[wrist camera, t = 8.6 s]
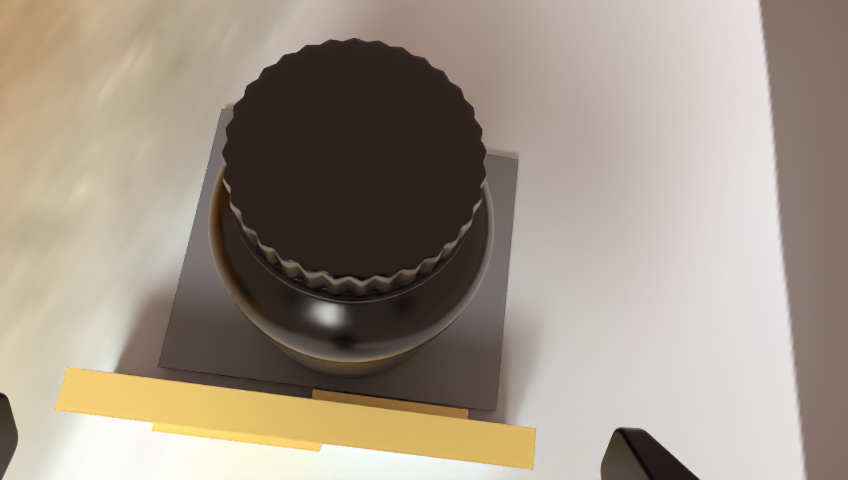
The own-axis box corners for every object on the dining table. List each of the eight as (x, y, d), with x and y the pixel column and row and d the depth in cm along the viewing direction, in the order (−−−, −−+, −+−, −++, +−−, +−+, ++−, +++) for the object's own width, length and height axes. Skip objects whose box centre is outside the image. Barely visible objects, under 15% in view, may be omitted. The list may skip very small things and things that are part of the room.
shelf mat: (494, 411, 22) (496, 411, 21) (160, 367, 20) (157, 366, 20) (516, 162, 24) (518, 159, 24) (223, 111, 23) (221, 108, 23)
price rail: (502, 467, 21) (532, 479, 18) (101, 417, 20) (51, 421, 16) (507, 415, 22) (536, 418, 18) (115, 364, 20) (70, 356, 17)
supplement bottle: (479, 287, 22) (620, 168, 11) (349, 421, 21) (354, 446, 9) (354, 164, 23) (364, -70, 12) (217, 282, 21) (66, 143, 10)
